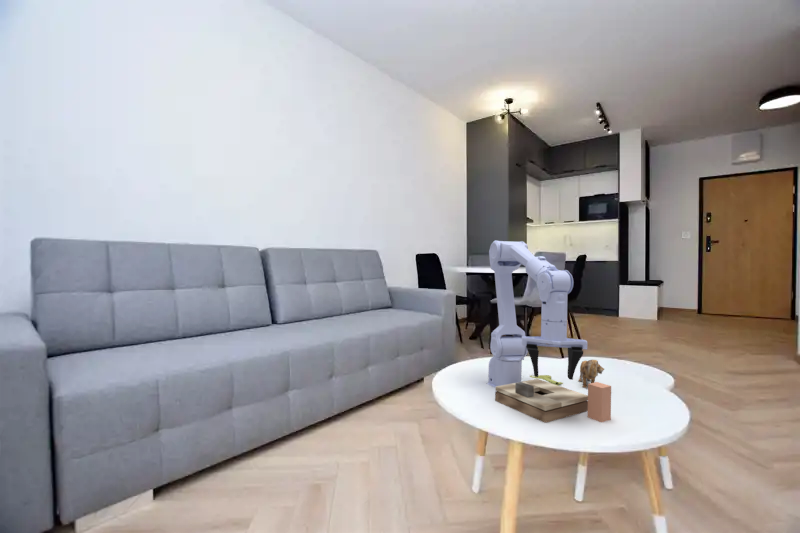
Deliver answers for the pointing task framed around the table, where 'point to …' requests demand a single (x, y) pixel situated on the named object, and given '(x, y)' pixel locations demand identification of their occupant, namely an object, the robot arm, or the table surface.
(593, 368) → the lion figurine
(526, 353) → the robot arm
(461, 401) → the table surface
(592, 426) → the table surface
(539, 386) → the lid
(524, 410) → the wooden box
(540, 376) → the key
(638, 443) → the table surface
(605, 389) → the terracotta rectangular block
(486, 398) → the table surface
